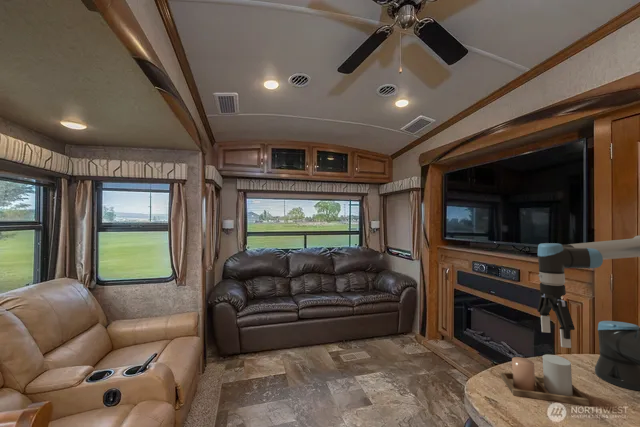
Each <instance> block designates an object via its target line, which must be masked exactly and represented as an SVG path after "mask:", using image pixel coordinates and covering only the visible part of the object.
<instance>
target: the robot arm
mask: <svg viewBox="0 0 640 427" xmlns="http://www.w3.org/2000/svg"><path fill="white" fill-rule="evenodd" d="M628 258H640V235H635V236H634V237H633V238H624V239H614V240H602V241H600V240H599V241H592V242H579V243H570V244H569V243H568V244H562V243H558V242H557V243H555V242H554V243H553V242H552V243H551V242H550V243H549V242H545V243H539V244H538V246H537V260H538V261H537V262H538V273H539V274H537V277H539V278H538V279H539V295H540V296H539V301H538V305H537V312H538V313H539V315H540V325H541V333H549V334H550V333H552V332H551V320H550V318H551V317H550V316H551V315H550V312H551V310H552V311H553V312H554V313H555V315H556V318H557V320H558V322H559V325H560V326H559V333H560V334H559V335H560V347H561V348H568V349H571V348H572V339H571V338H572V337H571V335H572V334H571V331H575V330H576V328H575V325H574V322H573V319H572V316H571V312H570V309H569V305H568V301H567V300H562V297H563V296H566V293H567V292H566V291H567V290H566V285H565V284H566V272H565V269H598V268H600V267H601V266H602V265H603V263H604V261H605V260H615V259H628ZM597 332H598V346H599V347H598V348H599V357H598V359H597V361H596V364H595V366H594V374H595V375H596V376H597V377H598V378H599V379H601V380H603V381H605V382H607V383H609V384H611V385H614V386H616V387H620V388H624V389H628V390H633V391H640V325H637V324H635V323H629V322H625V321H616V320H615V321H614V320H602V321H601V320H600V321H599V322H598V324H597Z"/></svg>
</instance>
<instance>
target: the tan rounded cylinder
mask: <svg viewBox="0 0 640 427" xmlns="http://www.w3.org/2000/svg"><path fill="white" fill-rule="evenodd" d="M511 364H512V366H511V367H512V373H513V386H514V387H515V388H516V389H519V390H527V391H534V392H535V391H536V389H535V376H536V375H535V374H536V373H535V362H533V361H532V360H530V359H528V358H525V357H520V356H515V357H512V358H511Z"/></svg>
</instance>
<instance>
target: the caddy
mask: <svg viewBox="0 0 640 427" xmlns="http://www.w3.org/2000/svg"><path fill="white" fill-rule="evenodd" d="M500 378H501V379H502V381H503V383H505V385H506V387H507V388H508V390H509V391H510V393H511V395H512V396H516V397H522V398H529V399H530V398H531V399H536V400H544V401H551V402H558V403H564V404H571V405H579V406H588V407H590V400H589V399H588V398H587V397H586V396H585V395H584V394H583V393H582V392H580V391H579V389H578V388H576V387H575V386H574V384H572V392H573V397H572V396H565V395H557V394H550V393H549V392H548V391H547V390H546V389H545V387H544V376H542V375H541V376H540V375H535V389H536V391H535V392H534V391H527V390H519V389H516V388H515V387H514V386H513V372H507V371H500Z"/></svg>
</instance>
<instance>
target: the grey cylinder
mask: <svg viewBox="0 0 640 427" xmlns="http://www.w3.org/2000/svg"><path fill="white" fill-rule="evenodd" d="M542 370H543V372H542V373H543V374H542V375H543V377H544V387H545V389H546V390H547V391H548V392H549V393H550V394H557V395H565V396H572V397H573V392H572V385H573V380H572V379H573V378H572V377H573V376H572V362H571V361H570V360H568V359H566V358H565V357H562V356H560V355H554V354H543V355H542Z"/></svg>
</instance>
